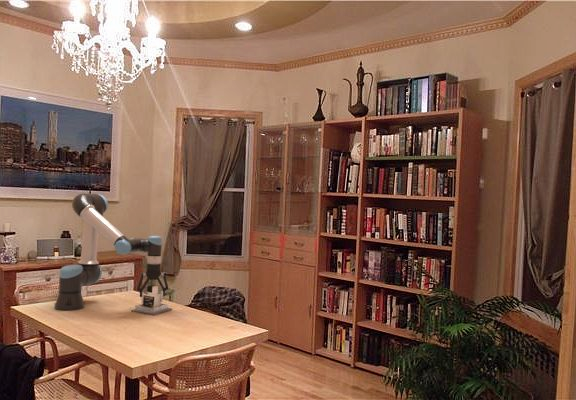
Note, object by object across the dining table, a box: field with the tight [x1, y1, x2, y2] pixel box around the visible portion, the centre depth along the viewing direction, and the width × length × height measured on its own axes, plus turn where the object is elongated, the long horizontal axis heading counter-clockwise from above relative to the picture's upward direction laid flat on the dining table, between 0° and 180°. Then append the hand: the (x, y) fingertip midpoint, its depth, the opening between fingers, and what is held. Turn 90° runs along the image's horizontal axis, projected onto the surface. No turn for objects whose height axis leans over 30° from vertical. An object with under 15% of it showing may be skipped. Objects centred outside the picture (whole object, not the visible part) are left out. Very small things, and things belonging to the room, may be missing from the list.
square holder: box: [130, 302, 173, 316], centre depth 266 cm, size 16×16×3 cm
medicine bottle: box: [142, 285, 161, 308], centre depth 266 cm, size 7×7×12 cm
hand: (152, 302), depth 266 cm, fingers open, 10 cm apart
